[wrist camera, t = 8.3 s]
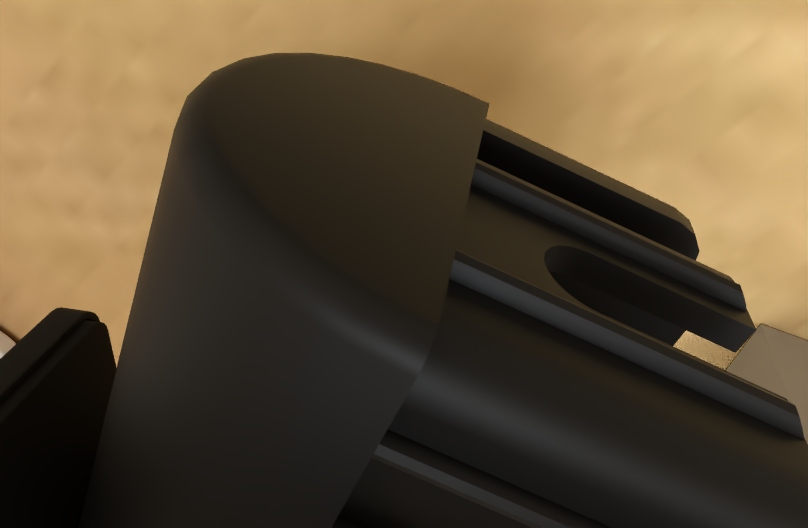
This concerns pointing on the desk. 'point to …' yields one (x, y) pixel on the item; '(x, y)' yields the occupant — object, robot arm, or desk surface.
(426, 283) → the end cap
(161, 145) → the desk surface
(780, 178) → the desk surface
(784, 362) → the icon cube
